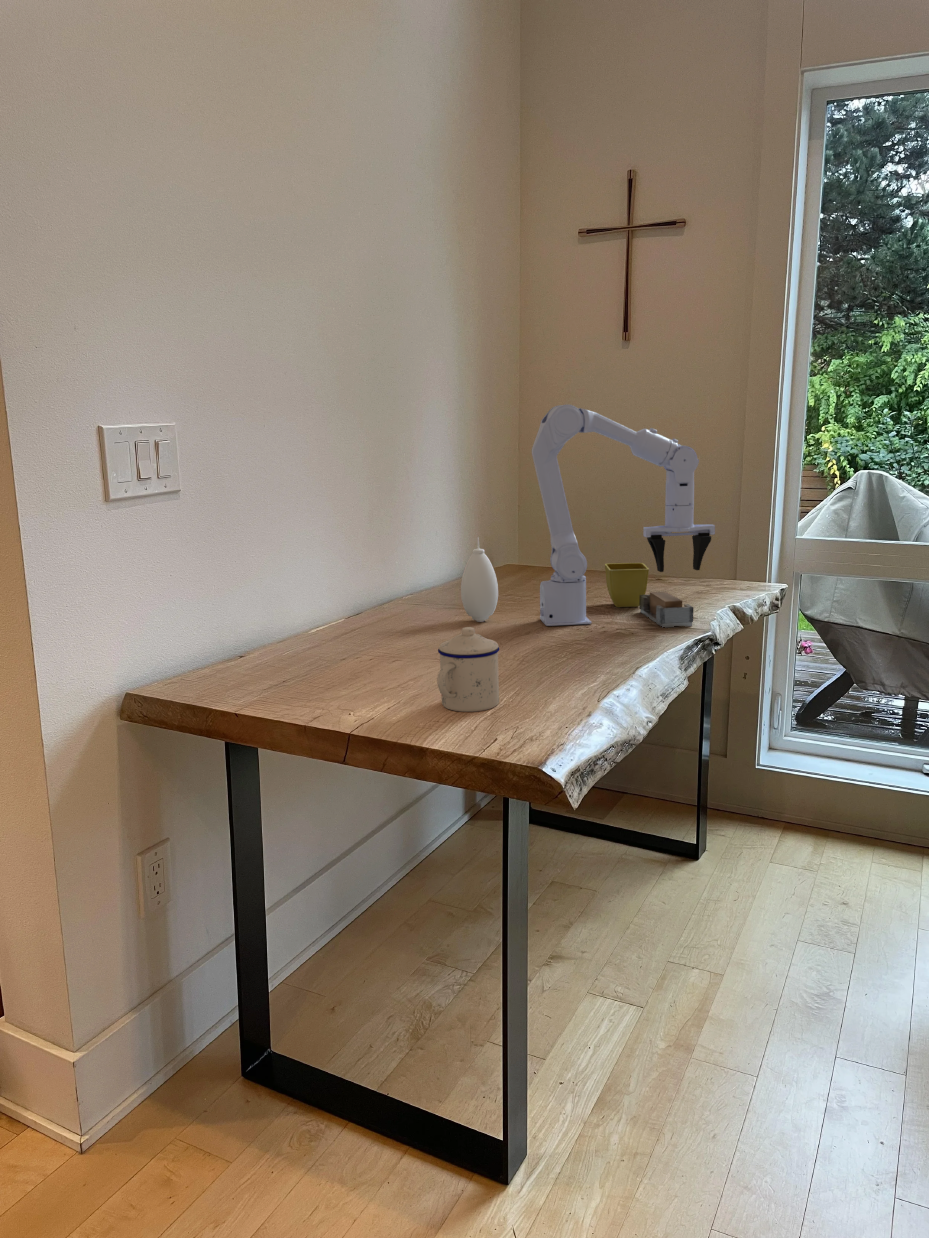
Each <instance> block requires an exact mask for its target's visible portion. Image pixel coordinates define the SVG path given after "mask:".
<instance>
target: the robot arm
mask: <svg viewBox="0 0 929 1238" xmlns="http://www.w3.org/2000/svg"><path fill="white" fill-rule="evenodd" d="M579 433H580V434H581V433H582V434H585V433H586V434H588V433H596V434H598V435H601V436H604V437H606V438H607V439H610V440H614V441H616V442H618V443H621V444H623V445H625V446H628V447H629V448H630V451H631V453H632V456H635V457H637V458H640V459H642V460H643V461H646V462H649V463H651V464H653V465H655V466H657V467H661V468H664V469H665V475H666V476H665V477H666V478H665V499H664V500H665V501H664V502H665V503H664V504H665V505H664V506H665V507H664V508H665V509H664V510H665V511H664V516H665V517H664V525H656V526H643V531H642V532H643V534H642V535H643V537H644V538H646V539H647V542H648V544H649V545H650V548H651V550H652V553H653V556H654V560H655V564H656V570H657V571H658V572H660V573H664V572H665V571H664V570H665V562H664V561H665V557H664V555H665V546H666V540H665V539H664V537H674V536H675V537H676V536H677V537H679V536H691V539H692V548H693V550H692V551H693V556H692V558H693V559H692V569H693V570H695V571H700V569H701V566H702V562H703V558H704V555H705V553H706V550H707V549H708V547H709V545H710V544H711V541H712V536H713V535H715V534H716V524H708V523H707V524H694V520H695V519H694V516H695V515H694V513H695V512H694V511H695V509H694V508H695V471H696V470H697V468H698V467H699V463H700V459H699V458H698V455H697V452H696V451H695V449H694V448H692V447H690V446H688V445H681V444H680V443H679V440H678V439H676V438H672V439H671V438H668V437H666V436H664V435H662V434H659V433H658V429H655V428H653V427H650V428H649V429H647V428H642V429H639V430H638V431H635V430H634V429H632V428H629V427H627V426H625V425H623V424H621V423H619V422H616V421H614V420H613V419H610V418H609V417H606V416H604V415H602V414H600V413H598V412H596V411H592V410H589V409H586V408H582V407H581V408H580V407H579V408H578V407H577V406H575V405H573V404H569V403H568V404H563V405H560V404H559V405H555V406H553V407H551V408H550V409H549V410H548V411H547V412H546V414H545V415H544V416H543V417H542V419H541V420H540V424H539V428H538V431H537V433H536V436H535V439H534V442H533V445H532V447H531V456H532V460H533V465H534V470H535V474H536V478H537V482H538V483H537V484H538V486H539V491H540V495H541V499H542V503H543V505H542V506H543V507H544V508H543V509H544V513H545V517H546V521H547V525H548V530H549V535H550V546H551V553H550V558H549V559H550V560H549V561H550V565H551V567H552V569H553V570H554V571H553V573H552V575H550V579H549V580H543V581H541V582H540V586H539V612H540V613H539V615H540V616H539V619H540V620H541V622H542V623H543V624H544V625H545V626H547V627H551V626H552V627H553V626H555V627H556V626H572V625H590V624H592V620H590V619H589V618H588V617H587V576H586V575H585V573H586V571H587V568H588V561H587V557H586V556H585V555H584V554H583V552H581V549H580V548H579V543H578V539H577V538H576V535H575V532H574V528H573V524H572V519H571V513H570V510H569V505H568V502H567V497H566V492H565V489H564V483H563V478H562V474H561V469H560V464H559V461H558V455H559V453H561V450H562V449H563V448H564V446H565V444H566V443H567V442H568V441H570V440H571V439H573V437H575V436H576V435H577V434H579ZM711 535H712V536H711Z"/></svg>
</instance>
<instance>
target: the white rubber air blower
mask: <svg viewBox="0 0 929 1238" xmlns="http://www.w3.org/2000/svg"><path fill="white" fill-rule="evenodd" d="M476 540H477V541H476V548H474V549H472V551H471V552H472V554H471V555H469V557H468V558H467V559H468V560H467V562H466V564H465V567H464V570H463V573H462V576H461V583H460V597H461V598H460V599H461V601H462V602H461V603H462V606H463V609H464V611H465V612H466V615H467V616H469V617H471V620H473V621H475V622H477V623H483V622H486V621H487V620H489V619H490V618H489V617H490V616H493V614H494V612H495V610H496V608H497V605H498V598H499V585H498V579H497V575H496V571H495V569H494V567H493V564H492V562H491V560H490V559H489V557H488V556H487V555H486V553H485V551H486V550H485V549H484V548H481V547H480V538H479V537H477V538H476Z"/></svg>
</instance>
